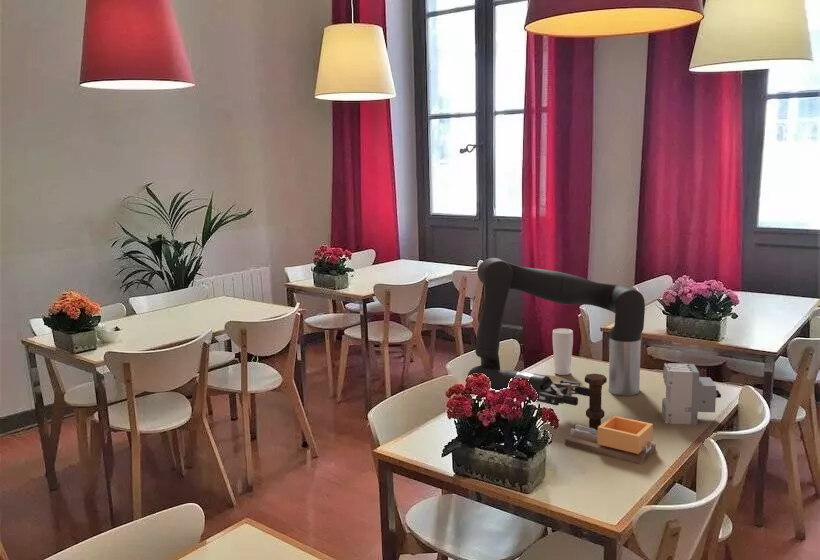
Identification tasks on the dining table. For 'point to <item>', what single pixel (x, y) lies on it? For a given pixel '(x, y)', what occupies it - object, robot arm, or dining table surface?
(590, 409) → the bolt
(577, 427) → the rail
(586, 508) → the dining table surface
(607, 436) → the orange open box
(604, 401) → the dining table surface
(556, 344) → the drinking glass
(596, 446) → the rail board
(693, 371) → the circuit breaker
